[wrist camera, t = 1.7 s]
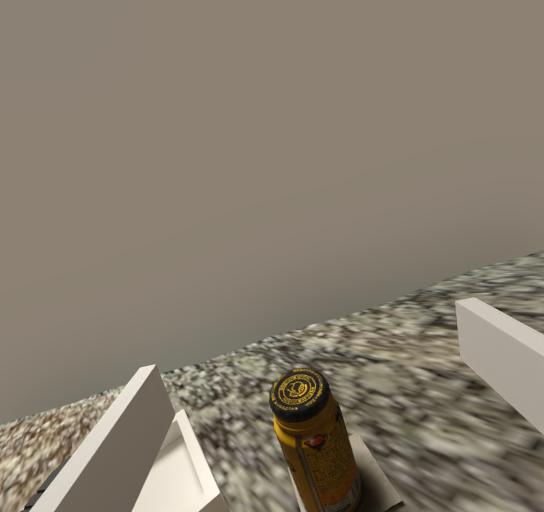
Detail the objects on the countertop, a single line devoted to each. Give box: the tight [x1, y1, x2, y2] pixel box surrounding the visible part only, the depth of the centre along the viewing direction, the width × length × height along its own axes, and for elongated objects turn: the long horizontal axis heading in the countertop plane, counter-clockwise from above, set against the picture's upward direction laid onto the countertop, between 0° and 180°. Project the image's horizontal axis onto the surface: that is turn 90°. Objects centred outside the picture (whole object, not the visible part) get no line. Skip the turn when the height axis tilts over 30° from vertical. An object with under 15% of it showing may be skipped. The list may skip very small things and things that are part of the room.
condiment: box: [269, 368, 402, 512], centre depth 25 cm, size 7×8×12 cm
